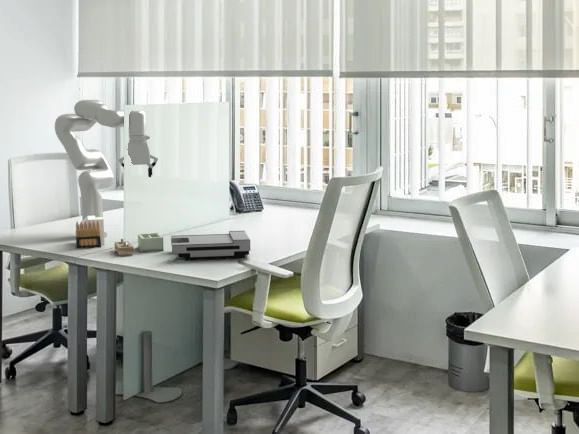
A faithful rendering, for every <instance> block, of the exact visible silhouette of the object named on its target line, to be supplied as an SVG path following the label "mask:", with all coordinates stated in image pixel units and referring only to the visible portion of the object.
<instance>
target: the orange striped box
mask: <svg viewBox="0 0 579 434" xmlns="http://www.w3.org/2000/svg"><path fill="white" fill-rule="evenodd" d="M81 221H82V220H81ZM85 221H86V223H87V230H88V223H89V221H90V223H91V229H92V227H93V226H92V225H93V221H94V222H95V228H96V229H97V221H99V227H100V238H101V245H102V246H105V237H104V232H105V226H104V221H105V220H104V216H103V217H95V216H87V217H86V218H85V219H84V220H83V221H82V224H83V230H84V223H85ZM78 224H79V231H80V223H78ZM96 236H97V234H96ZM96 241H97V239H96ZM88 244H89V243H88ZM92 244H93V239H92Z"/></svg>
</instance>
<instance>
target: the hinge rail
mask: <svg viewBox="0 0 579 434" xmlns="http://www.w3.org/2000/svg"><path fill="white" fill-rule="evenodd" d="M124 241H125V239H124V238H120V242H121V244H124V247H127V242H124ZM133 255H134V254H127V255H119V256H120V257H127V256H128V257H129V256H133Z"/></svg>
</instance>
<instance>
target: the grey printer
mask: <svg viewBox="0 0 579 434" xmlns="http://www.w3.org/2000/svg"><path fill="white" fill-rule="evenodd" d="M170 242H171V243H170V244H171V253H172V255H173V254H174V255H175V254H177V255H178V258H184V262H187V261H189V262H190V261H211V260H212V261H215V260H216V261H217V260H240V259H241V260H242V258H246V257H245V256H249V255H250V251H251V239H250V237H249V236H248V234H247V233H246V231H245V230H229V231H228V233H219V234H215V233H213V234H191V235H190V234H186V235H183V234H182V235H181V234H180V235H171V236H170Z"/></svg>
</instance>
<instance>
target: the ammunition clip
mask: <svg viewBox="0 0 579 434" xmlns="http://www.w3.org/2000/svg"><path fill="white" fill-rule="evenodd" d="M79 224H80V231H79ZM92 226H93V227H92V229H91V223H90V221H89V223H88V230H87V223H86V221H85V223H84V230H83V224H82V220H81V221H80V222H78V221H76V224H75V245H76V246H75V249H77V248H78V249H93V248H94V247H98V248H102V246H101V238H100V227H99V221H97V229H96V228H95V222H94V221H93V225H92ZM96 234H97V236H96ZM92 239H93V244H92ZM96 239H97V241H96ZM88 243H89V244H88ZM94 249H95V248H94Z"/></svg>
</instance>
